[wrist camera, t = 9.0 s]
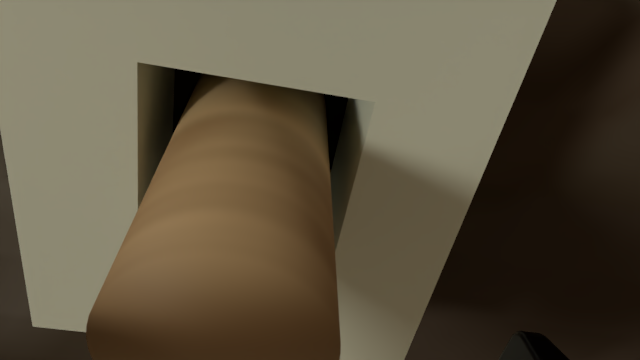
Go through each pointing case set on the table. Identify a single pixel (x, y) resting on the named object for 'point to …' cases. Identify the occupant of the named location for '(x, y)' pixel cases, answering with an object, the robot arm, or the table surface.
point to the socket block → (275, 69)
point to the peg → (229, 237)
